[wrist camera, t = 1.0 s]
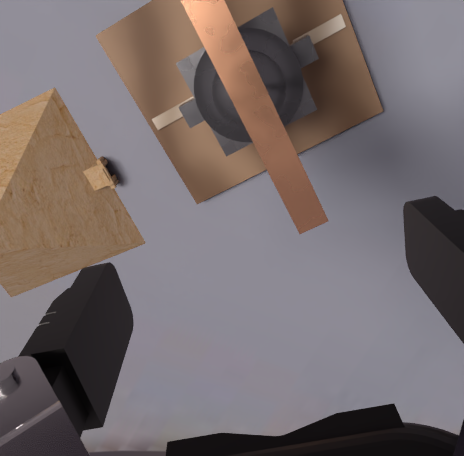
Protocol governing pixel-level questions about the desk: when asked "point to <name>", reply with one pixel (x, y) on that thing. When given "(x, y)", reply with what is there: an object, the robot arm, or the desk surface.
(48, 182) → the model pyramid
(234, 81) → the lever handle
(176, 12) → the post base
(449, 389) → the desk surface
